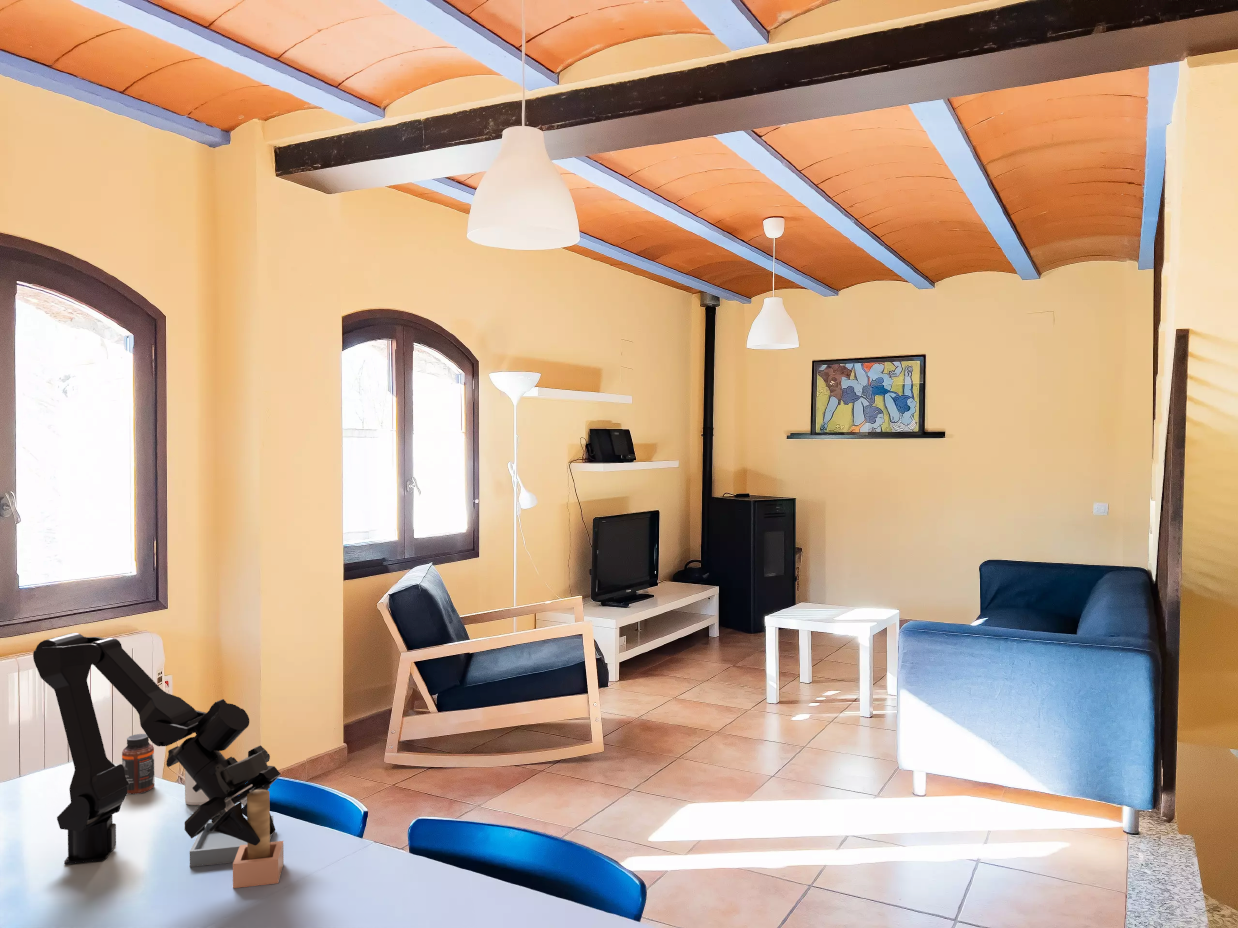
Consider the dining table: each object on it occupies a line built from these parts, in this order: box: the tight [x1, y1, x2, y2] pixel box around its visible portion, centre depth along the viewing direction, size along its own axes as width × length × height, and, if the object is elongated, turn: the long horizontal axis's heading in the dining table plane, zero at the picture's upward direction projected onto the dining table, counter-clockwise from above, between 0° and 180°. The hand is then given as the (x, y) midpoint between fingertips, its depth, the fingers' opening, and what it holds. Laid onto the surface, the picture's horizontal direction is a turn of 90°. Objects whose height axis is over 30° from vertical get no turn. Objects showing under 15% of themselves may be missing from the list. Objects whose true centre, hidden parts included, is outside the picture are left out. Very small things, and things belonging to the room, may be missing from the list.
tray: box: [189, 815, 274, 868], centre depth 159 cm, size 12×12×3 cm
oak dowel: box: [246, 789, 271, 860], centre depth 149 cm, size 4×4×14 cm
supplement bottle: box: [121, 733, 156, 795], centre depth 185 cm, size 6×6×11 cm
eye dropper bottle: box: [184, 769, 209, 806], centre depth 179 cm, size 4×6×12 cm
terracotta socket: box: [232, 840, 285, 889], centre depth 149 cm, size 7×7×4 cm
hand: (265, 837), depth 148 cm, fingers open, 4 cm apart
